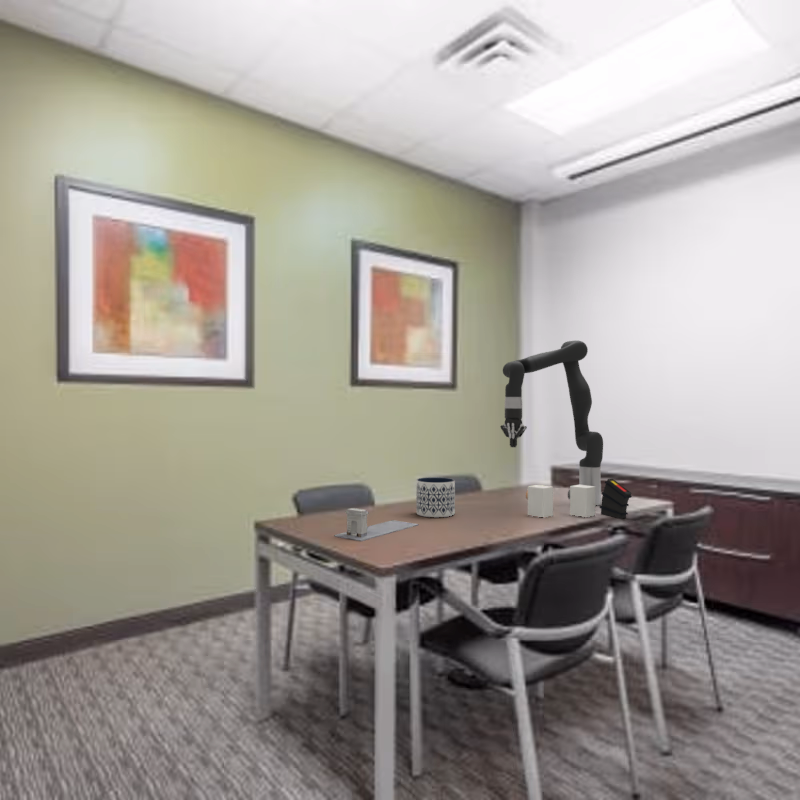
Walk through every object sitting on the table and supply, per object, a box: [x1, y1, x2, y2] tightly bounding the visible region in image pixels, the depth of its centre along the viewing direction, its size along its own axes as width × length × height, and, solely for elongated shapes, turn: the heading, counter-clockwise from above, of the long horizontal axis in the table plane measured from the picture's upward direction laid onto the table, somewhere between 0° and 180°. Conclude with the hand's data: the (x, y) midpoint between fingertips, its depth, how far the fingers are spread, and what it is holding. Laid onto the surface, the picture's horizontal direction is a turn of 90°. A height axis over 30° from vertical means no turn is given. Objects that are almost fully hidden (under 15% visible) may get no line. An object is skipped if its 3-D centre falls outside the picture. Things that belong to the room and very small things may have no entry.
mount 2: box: [569, 484, 596, 518], centre depth 246 cm, size 7×8×12 cm
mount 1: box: [527, 484, 554, 518], centre depth 244 cm, size 7×8×12 cm
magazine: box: [599, 478, 632, 519], centre depth 244 cm, size 4×13×15 cm, turn 29°
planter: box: [415, 476, 456, 519], centre depth 247 cm, size 16×16×14 cm
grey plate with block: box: [333, 507, 419, 542], centre depth 216 cm, size 12×33×10 cm, turn 143°
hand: (513, 447), depth 259 cm, fingers closed
